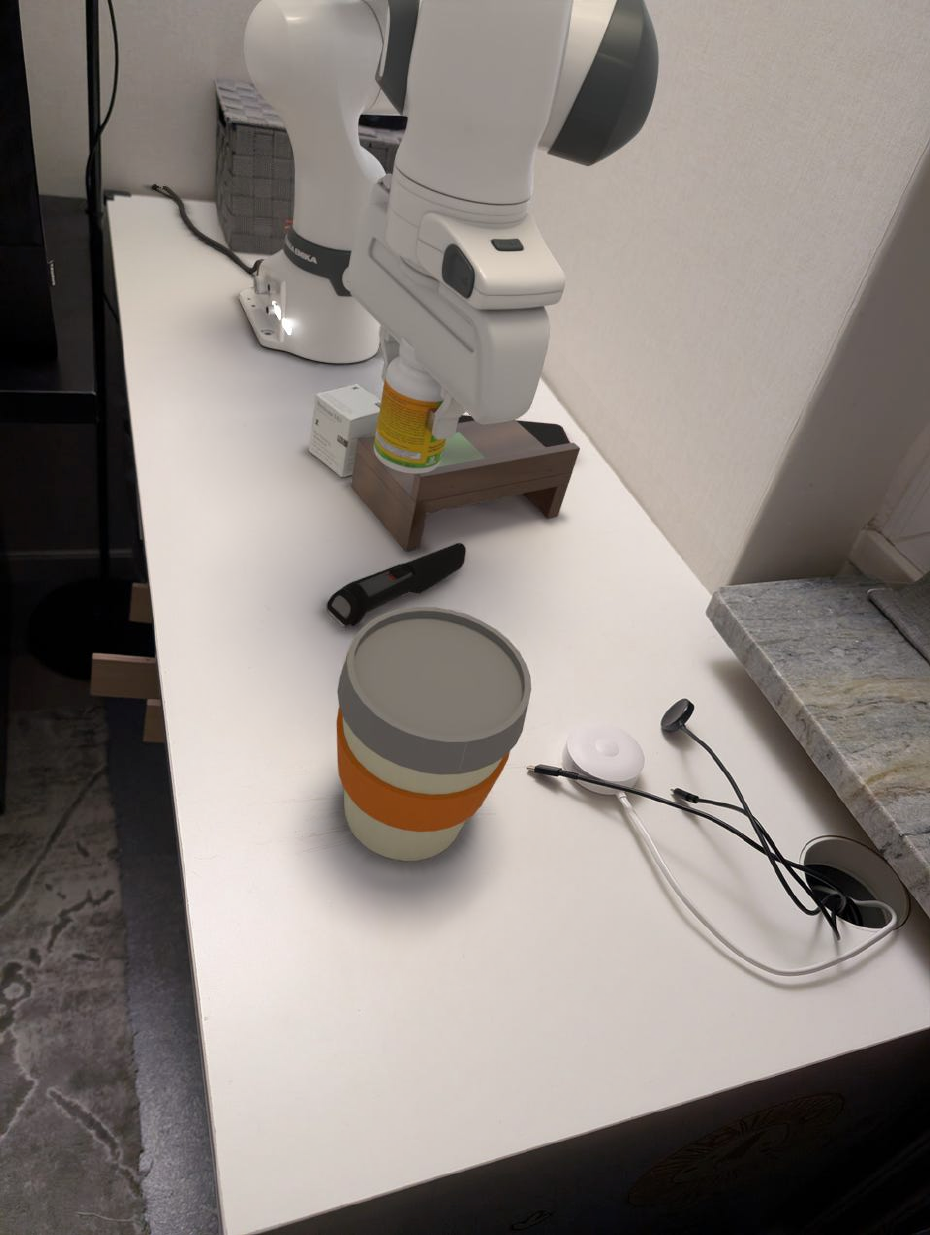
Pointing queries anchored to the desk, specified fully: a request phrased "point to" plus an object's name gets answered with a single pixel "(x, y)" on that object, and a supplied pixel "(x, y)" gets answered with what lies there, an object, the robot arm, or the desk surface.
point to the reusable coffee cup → (425, 726)
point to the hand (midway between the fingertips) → (416, 409)
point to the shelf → (464, 477)
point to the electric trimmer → (394, 584)
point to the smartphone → (538, 431)
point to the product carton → (342, 425)
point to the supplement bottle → (408, 416)
